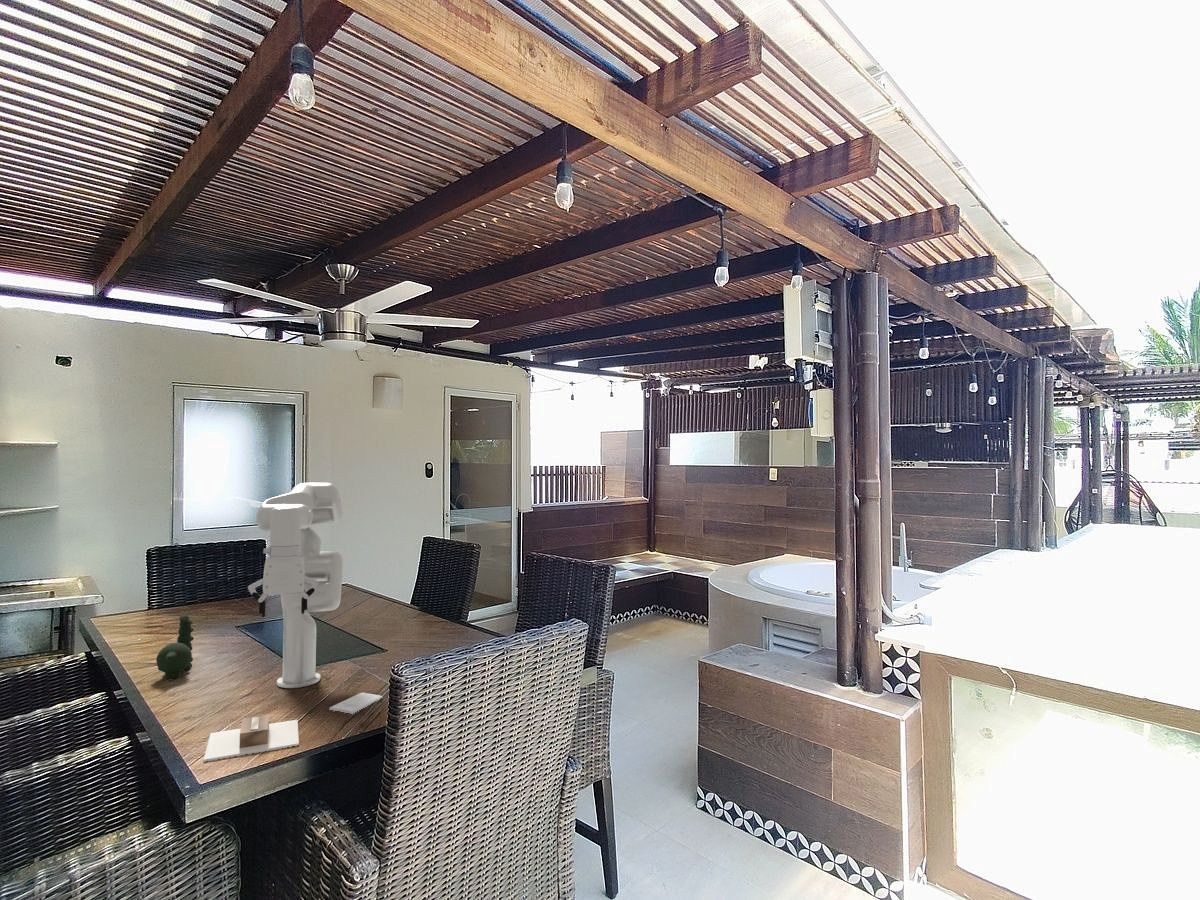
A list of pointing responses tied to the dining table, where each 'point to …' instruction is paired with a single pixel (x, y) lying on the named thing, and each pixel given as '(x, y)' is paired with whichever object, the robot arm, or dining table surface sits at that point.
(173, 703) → the dining table surface
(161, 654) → the toy figurine
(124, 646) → the dining table surface
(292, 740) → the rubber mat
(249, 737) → the slotted tan block
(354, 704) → the external hard drive
